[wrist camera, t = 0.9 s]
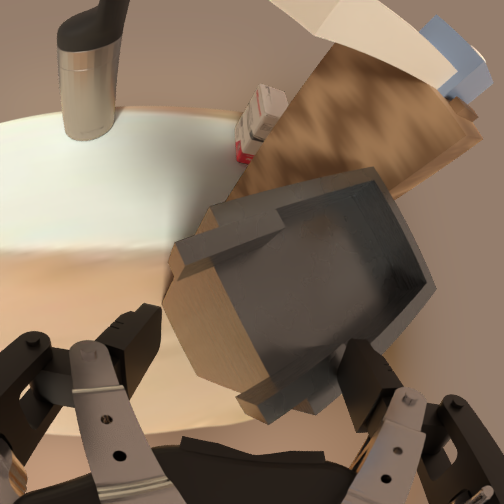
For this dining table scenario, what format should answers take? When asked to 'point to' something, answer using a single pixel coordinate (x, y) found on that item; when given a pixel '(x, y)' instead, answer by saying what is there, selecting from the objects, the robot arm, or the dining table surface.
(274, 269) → the tray
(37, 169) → the dining table surface
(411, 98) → the stand
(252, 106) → the ink box
